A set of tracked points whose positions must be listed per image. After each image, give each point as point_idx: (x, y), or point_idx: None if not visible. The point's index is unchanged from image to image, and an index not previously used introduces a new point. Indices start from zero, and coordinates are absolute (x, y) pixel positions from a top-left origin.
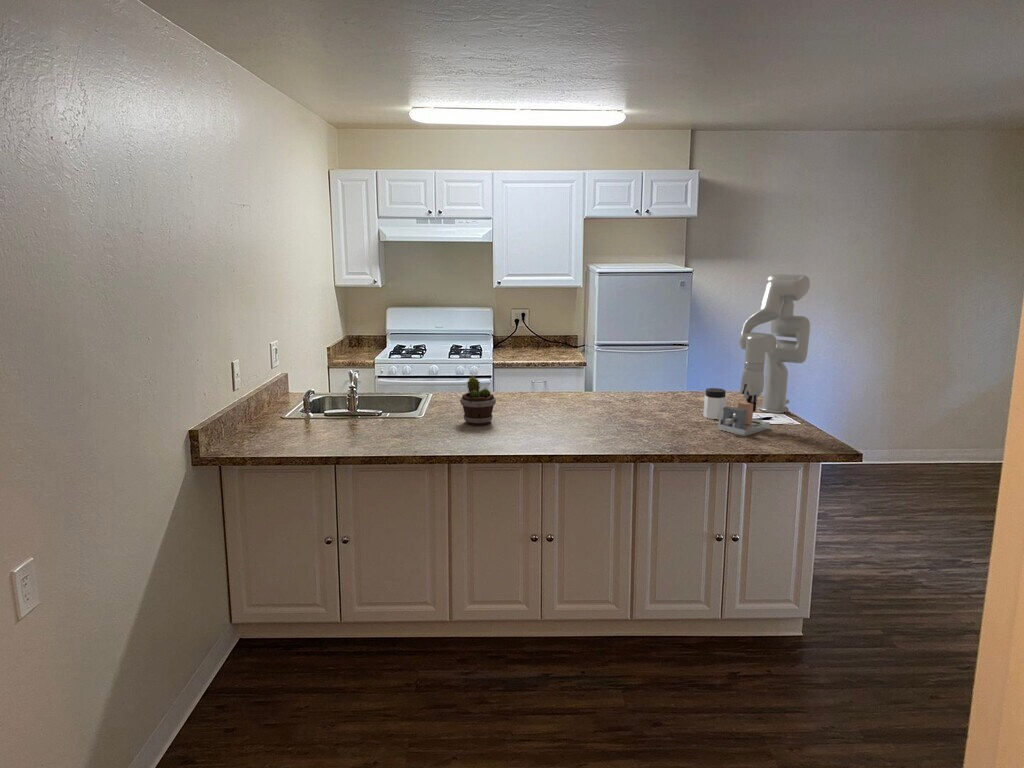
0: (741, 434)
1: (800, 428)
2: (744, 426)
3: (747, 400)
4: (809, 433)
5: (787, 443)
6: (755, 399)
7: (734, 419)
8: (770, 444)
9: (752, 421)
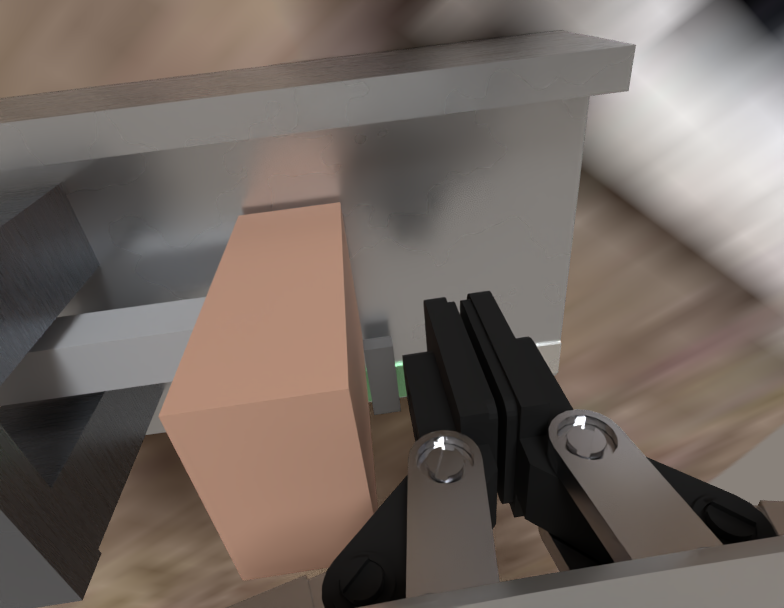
0: None
1: (708, 426)
2: (155, 403)
3: (392, 499)
4: None
5: (291, 575)
6: (551, 553)
7: (4, 397)
8: (171, 562)
9: (365, 351)
